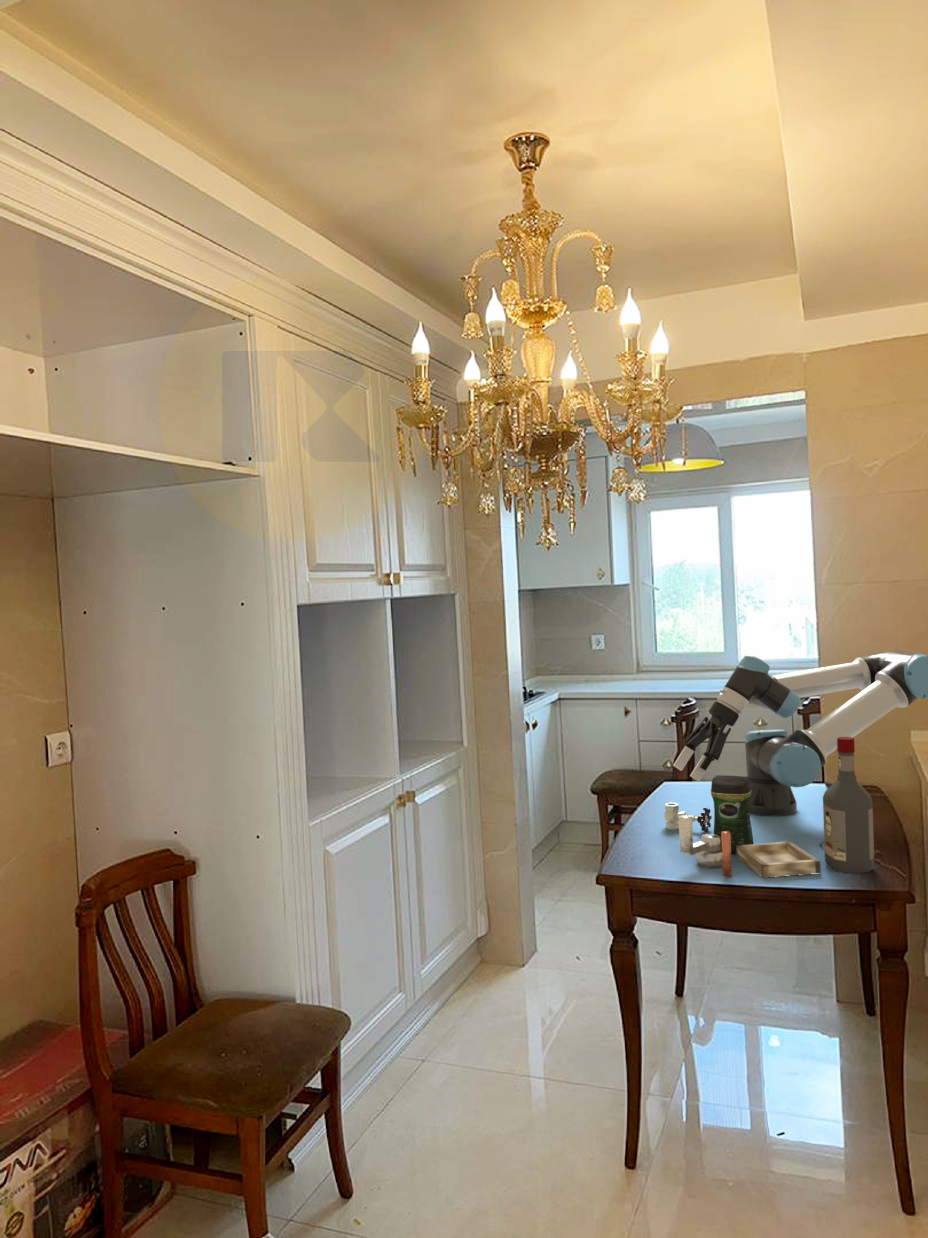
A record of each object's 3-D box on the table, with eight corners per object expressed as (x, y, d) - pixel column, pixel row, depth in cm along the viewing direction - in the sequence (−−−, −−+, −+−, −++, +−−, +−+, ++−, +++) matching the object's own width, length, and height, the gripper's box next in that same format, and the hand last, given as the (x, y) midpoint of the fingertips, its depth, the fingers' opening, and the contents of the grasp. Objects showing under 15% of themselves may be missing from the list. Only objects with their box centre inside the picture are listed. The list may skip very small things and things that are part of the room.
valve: (660, 830, 245) (704, 835, 239) (659, 806, 245) (703, 811, 238) (669, 824, 251) (712, 829, 244) (668, 800, 250) (711, 805, 244)
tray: (789, 853, 220) (789, 841, 220) (820, 873, 205) (820, 860, 204) (736, 857, 219) (736, 845, 219) (763, 878, 203) (763, 865, 203)
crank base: (720, 858, 219) (718, 817, 219) (742, 876, 206) (741, 832, 205) (692, 860, 219) (690, 819, 218) (712, 878, 205) (711, 835, 205)
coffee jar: (756, 847, 226) (753, 773, 226) (750, 856, 219) (747, 780, 219) (716, 843, 231) (714, 771, 230) (710, 852, 224) (707, 778, 223)
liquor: (859, 860, 213) (856, 733, 211) (878, 872, 204) (874, 740, 202) (821, 862, 213) (817, 735, 211) (838, 874, 203) (834, 742, 202)
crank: (709, 845, 218) (707, 806, 218) (724, 849, 215) (723, 809, 214) (675, 857, 211) (673, 816, 210) (690, 861, 207) (688, 820, 207)
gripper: (700, 694, 256) (659, 757, 256) (734, 706, 231) (690, 776, 231) (721, 708, 257) (681, 771, 256) (758, 721, 232) (713, 791, 232)
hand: (685, 773), depth 244 cm, fingers open, 13 cm apart
